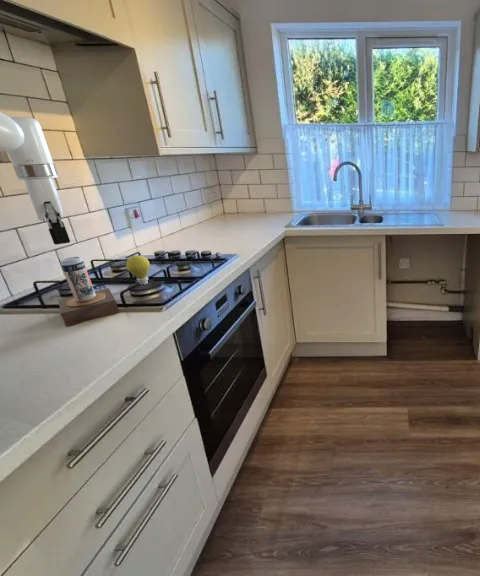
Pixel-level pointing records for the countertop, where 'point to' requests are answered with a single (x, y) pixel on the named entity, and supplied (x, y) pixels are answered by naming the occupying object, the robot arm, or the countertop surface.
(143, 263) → the light bulb
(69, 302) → the block
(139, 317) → the countertop surface
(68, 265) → the beer can
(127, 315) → the countertop surface
